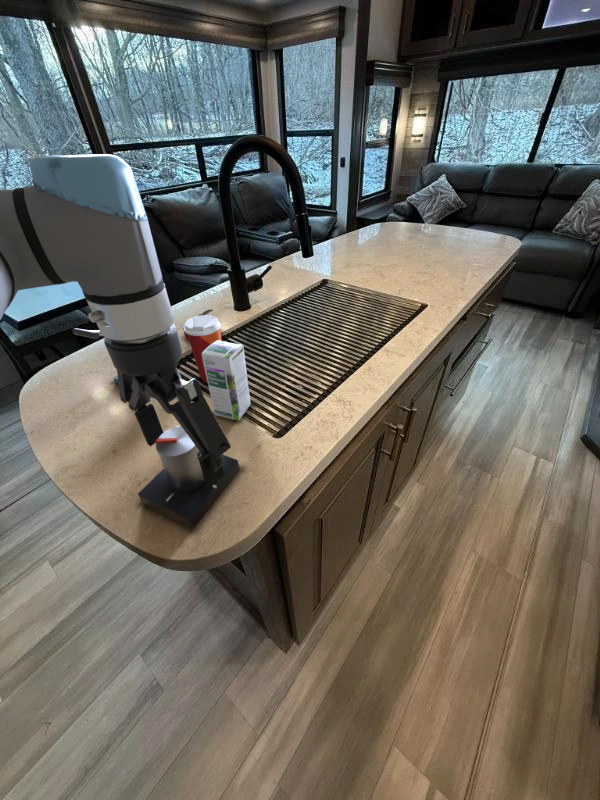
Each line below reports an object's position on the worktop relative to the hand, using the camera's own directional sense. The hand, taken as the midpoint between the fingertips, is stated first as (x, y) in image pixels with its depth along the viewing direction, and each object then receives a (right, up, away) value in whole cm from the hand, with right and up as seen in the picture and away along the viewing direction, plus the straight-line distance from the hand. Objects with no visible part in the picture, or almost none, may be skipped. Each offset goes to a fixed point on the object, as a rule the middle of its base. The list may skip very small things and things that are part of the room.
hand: (184, 459), depth 50 cm
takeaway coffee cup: (-10, +27, +45) cm, 54 cm away
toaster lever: (-22, +22, +19) cm, 36 cm away
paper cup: (-3, +14, +29) cm, 32 cm away
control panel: (0, -5, +4) cm, 6 cm away
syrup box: (+4, +7, +19) cm, 21 cm away
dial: (0, -3, +2) cm, 4 cm away
